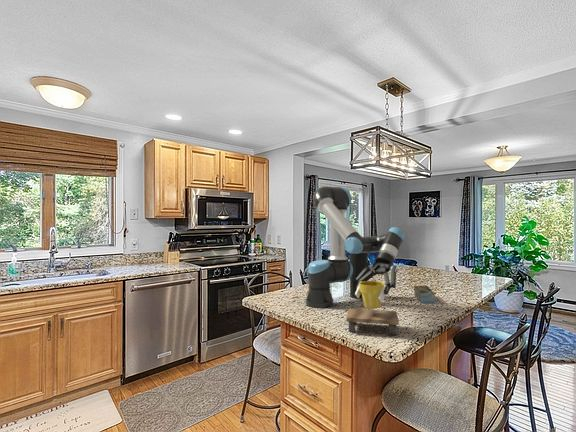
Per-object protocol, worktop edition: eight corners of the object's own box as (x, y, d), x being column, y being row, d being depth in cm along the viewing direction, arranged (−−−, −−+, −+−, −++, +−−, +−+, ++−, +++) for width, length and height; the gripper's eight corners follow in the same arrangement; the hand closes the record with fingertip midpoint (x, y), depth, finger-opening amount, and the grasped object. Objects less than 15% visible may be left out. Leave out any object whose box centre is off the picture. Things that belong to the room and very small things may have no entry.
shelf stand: (346, 332, 125) (346, 317, 125) (349, 321, 139) (349, 308, 139) (399, 336, 120) (398, 321, 120) (396, 325, 133) (396, 311, 133)
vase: (346, 297, 185) (346, 246, 185) (355, 293, 193) (354, 245, 193) (362, 299, 178) (361, 247, 179) (370, 296, 186) (369, 246, 187)
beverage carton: (419, 303, 168) (419, 291, 168) (413, 295, 187) (413, 284, 187) (435, 304, 166) (435, 292, 167) (427, 296, 185) (427, 285, 185)
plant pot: (357, 308, 126) (357, 284, 127) (361, 302, 136) (360, 280, 136) (384, 311, 123) (383, 286, 123) (386, 304, 132) (385, 281, 133)
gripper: (414, 263, 132) (397, 308, 121) (367, 260, 149) (349, 298, 137) (408, 252, 129) (390, 297, 117) (360, 249, 145) (341, 288, 134)
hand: (368, 298), depth 127 cm, fingers closed on plant pot, 10 cm apart
